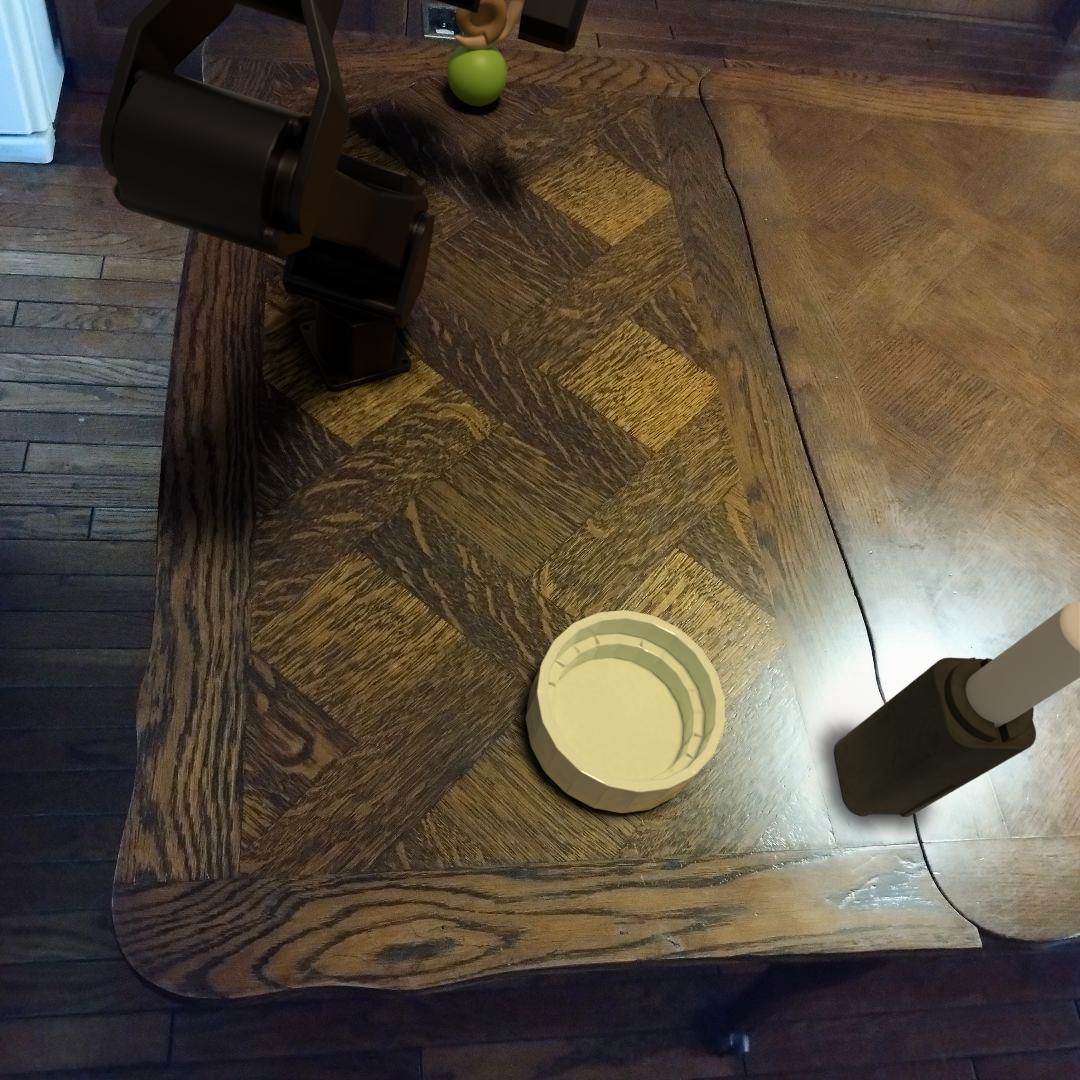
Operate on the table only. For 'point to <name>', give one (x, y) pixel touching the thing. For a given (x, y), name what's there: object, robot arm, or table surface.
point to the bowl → (624, 711)
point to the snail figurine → (481, 51)
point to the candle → (956, 721)
